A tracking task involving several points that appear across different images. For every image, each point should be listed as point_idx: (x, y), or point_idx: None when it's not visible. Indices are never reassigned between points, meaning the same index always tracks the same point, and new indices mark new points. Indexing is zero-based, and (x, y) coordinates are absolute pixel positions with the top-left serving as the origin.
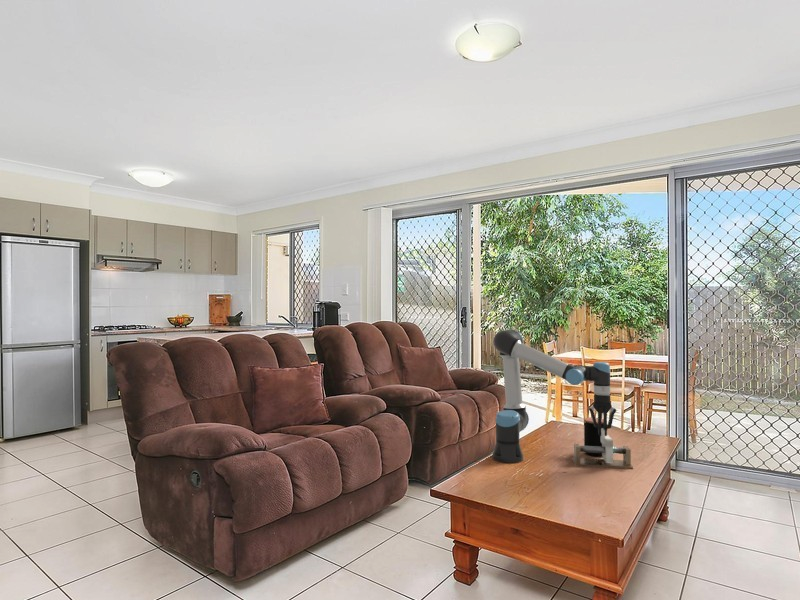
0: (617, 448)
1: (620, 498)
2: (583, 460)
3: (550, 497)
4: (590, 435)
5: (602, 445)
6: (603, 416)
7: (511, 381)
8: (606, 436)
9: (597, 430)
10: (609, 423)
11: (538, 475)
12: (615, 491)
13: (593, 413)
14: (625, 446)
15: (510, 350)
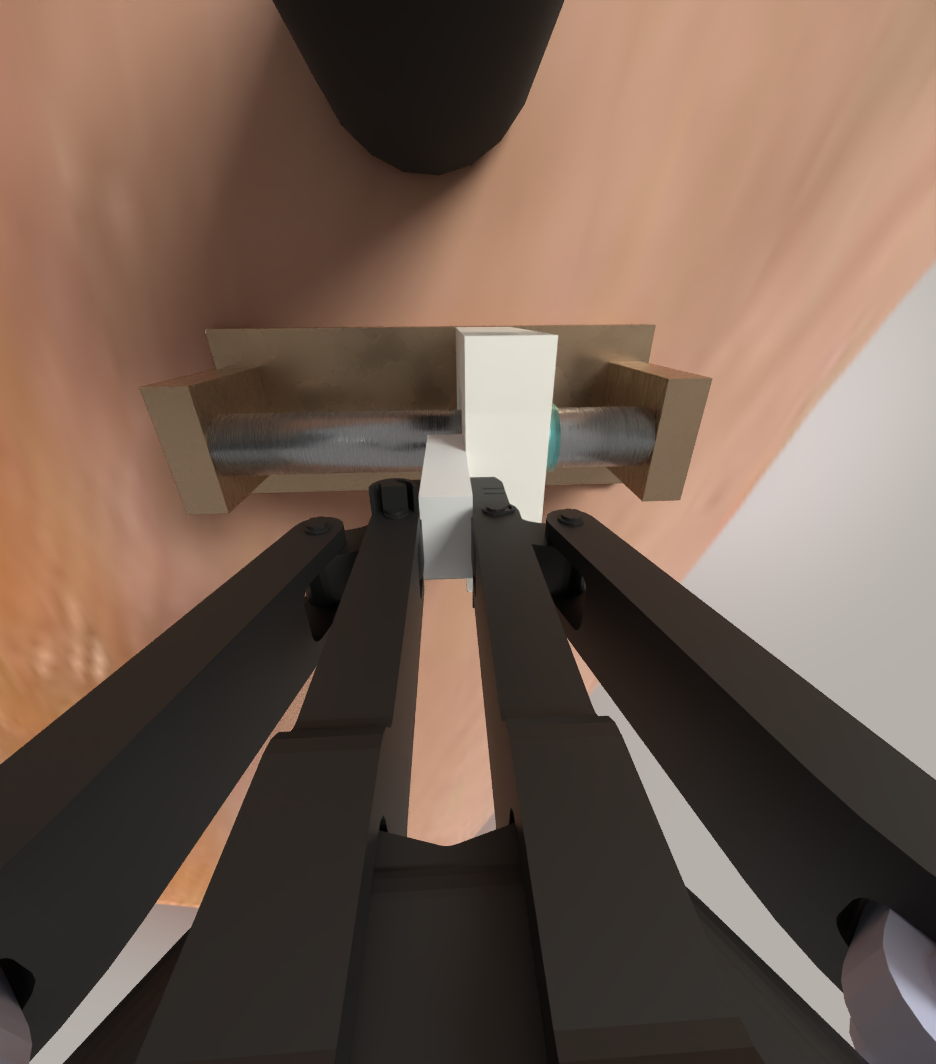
0: (579, 463)
1: (439, 800)
2: (301, 400)
3: (213, 832)
4: (306, 20)
5: (459, 355)
6: (493, 693)
7: None
8: (509, 423)
9: (423, 2)
10: (577, 644)
11: (92, 677)
12: (435, 760)
13: (115, 928)
14: (685, 394)
15: None
